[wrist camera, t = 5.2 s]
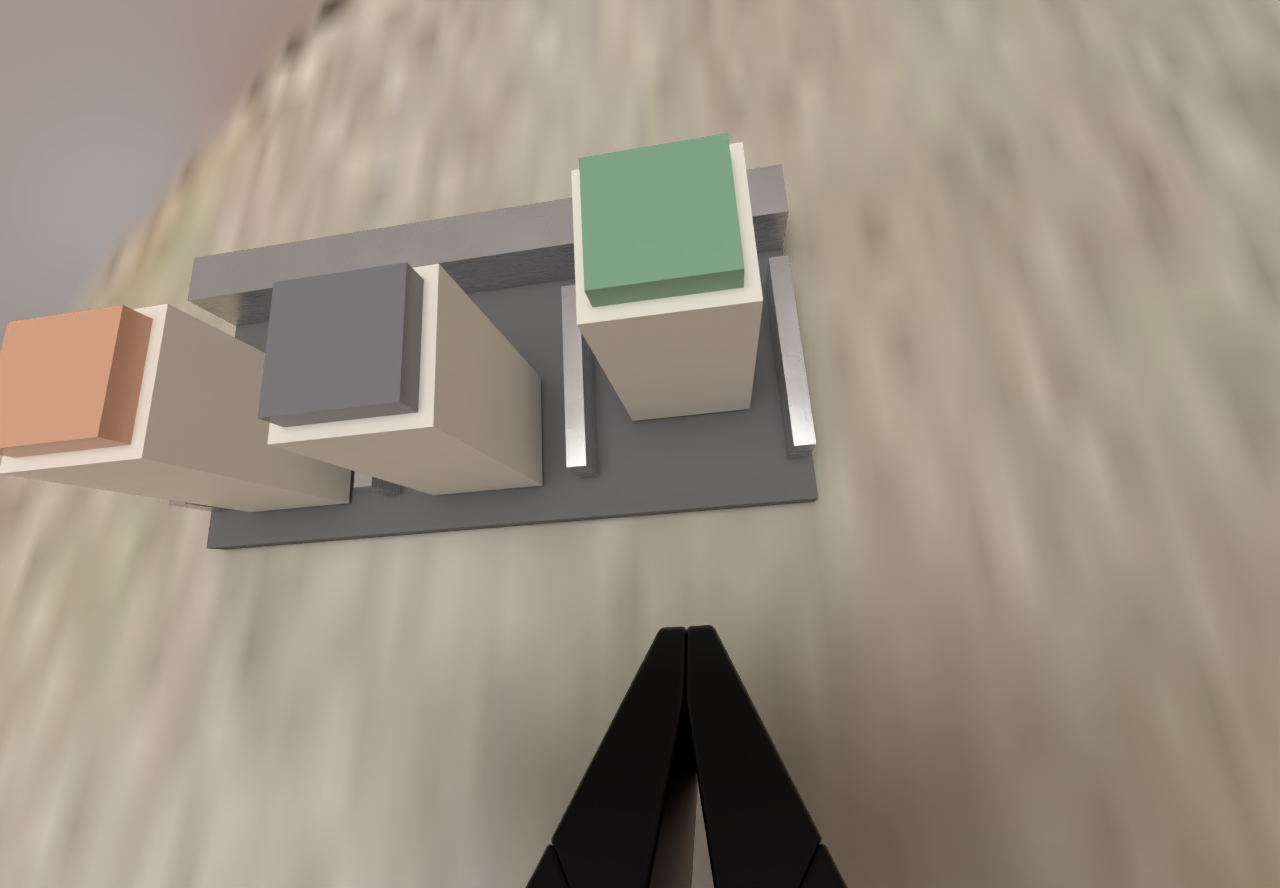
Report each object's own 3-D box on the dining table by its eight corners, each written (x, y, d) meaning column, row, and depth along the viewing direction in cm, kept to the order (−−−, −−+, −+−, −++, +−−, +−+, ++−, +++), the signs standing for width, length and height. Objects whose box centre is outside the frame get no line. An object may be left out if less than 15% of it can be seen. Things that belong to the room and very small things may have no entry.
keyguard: (811, 456, 20) (822, 440, 18) (211, 512, 23) (154, 503, 21) (776, 206, 23) (781, 164, 20) (241, 287, 26) (194, 258, 24)
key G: (749, 408, 21) (765, 282, 12) (632, 420, 21) (567, 308, 13) (737, 301, 22) (742, 116, 13) (626, 316, 22) (562, 147, 14)
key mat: (814, 501, 20) (818, 498, 20) (223, 549, 24) (206, 548, 23) (774, 219, 24) (776, 206, 23) (255, 295, 27) (241, 287, 26)
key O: (349, 503, 22) (108, 450, 14) (250, 512, 23) (-41, 467, 14) (356, 398, 23) (138, 289, 15) (261, 409, 24) (-2, 310, 15)
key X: (542, 485, 21) (415, 416, 13) (433, 495, 22) (240, 435, 13) (540, 377, 22) (422, 245, 14) (437, 389, 23) (261, 270, 14)
